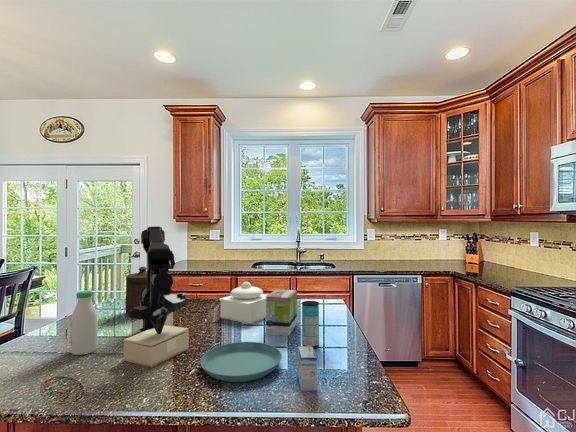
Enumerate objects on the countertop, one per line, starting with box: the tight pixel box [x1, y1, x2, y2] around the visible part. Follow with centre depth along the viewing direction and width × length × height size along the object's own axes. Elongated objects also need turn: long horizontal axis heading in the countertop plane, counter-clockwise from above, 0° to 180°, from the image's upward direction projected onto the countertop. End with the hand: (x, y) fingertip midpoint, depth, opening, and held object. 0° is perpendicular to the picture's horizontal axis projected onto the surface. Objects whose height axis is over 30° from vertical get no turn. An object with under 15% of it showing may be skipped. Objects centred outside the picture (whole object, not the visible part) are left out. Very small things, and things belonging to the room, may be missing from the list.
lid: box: [123, 324, 189, 346], centre depth 110 cm, size 12×16×1 cm
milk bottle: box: [70, 290, 98, 356], centre depth 114 cm, size 8×8×20 cm
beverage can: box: [301, 300, 320, 349], centre depth 118 cm, size 6×6×15 cm
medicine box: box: [296, 346, 318, 392], centre depth 90 cm, size 8×4×9 cm, turn 5°
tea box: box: [264, 288, 298, 336], centre depth 136 cm, size 15×10×15 cm, turn 168°
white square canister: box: [218, 281, 269, 325], centre depth 155 cm, size 18×18×16 cm
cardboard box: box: [123, 330, 190, 368], centre depth 110 cm, size 12×16×6 cm
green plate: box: [200, 341, 283, 383], centre depth 101 cm, size 24×24×3 cm
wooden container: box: [124, 266, 147, 317], centre depth 161 cm, size 15×15×22 cm
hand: (159, 333), depth 110 cm, fingers closed
